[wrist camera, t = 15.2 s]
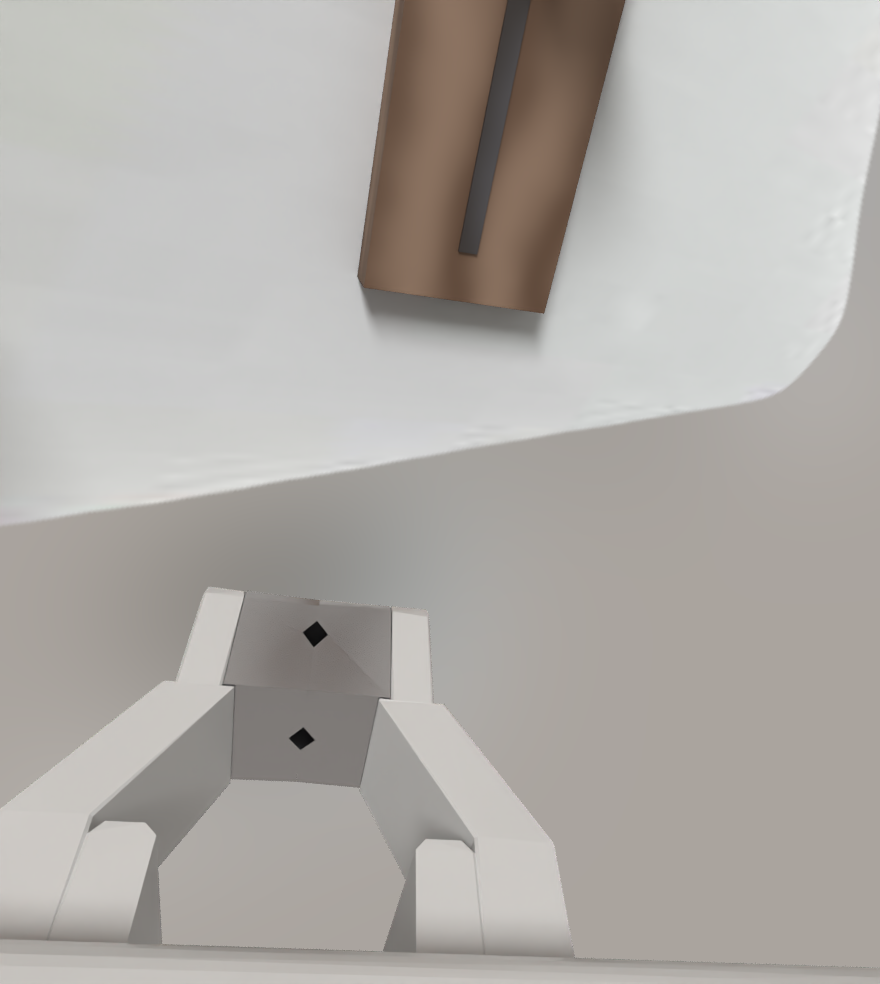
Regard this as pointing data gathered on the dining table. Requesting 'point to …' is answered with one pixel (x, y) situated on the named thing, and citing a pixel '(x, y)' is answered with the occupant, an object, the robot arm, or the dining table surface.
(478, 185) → the fader console
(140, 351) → the dining table surface
